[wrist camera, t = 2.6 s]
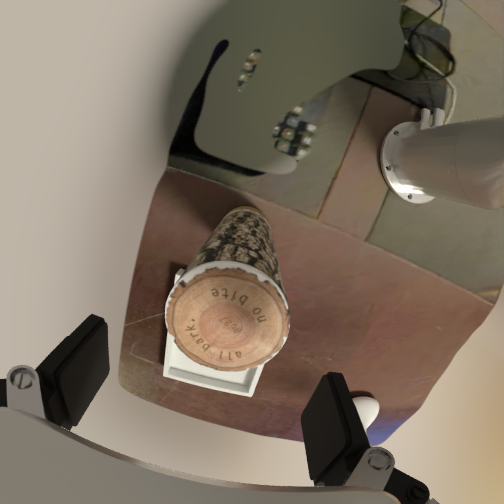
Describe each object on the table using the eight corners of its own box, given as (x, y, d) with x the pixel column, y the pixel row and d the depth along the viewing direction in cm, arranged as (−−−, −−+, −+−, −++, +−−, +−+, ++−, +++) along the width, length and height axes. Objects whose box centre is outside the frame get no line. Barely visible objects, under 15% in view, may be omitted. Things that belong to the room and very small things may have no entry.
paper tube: (245, 262, 40) (229, 388, 16) (211, 229, 38) (141, 319, 14) (280, 230, 38) (316, 324, 14) (245, 195, 37) (222, 234, 13)
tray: (180, 268, 40) (175, 274, 38) (284, 294, 41) (286, 301, 38) (166, 367, 45) (163, 375, 43) (251, 387, 46) (251, 397, 44)
